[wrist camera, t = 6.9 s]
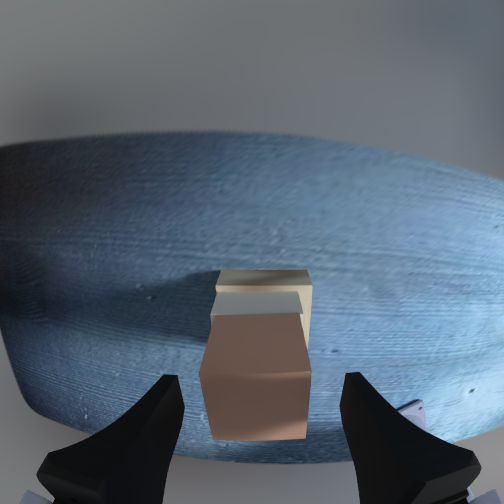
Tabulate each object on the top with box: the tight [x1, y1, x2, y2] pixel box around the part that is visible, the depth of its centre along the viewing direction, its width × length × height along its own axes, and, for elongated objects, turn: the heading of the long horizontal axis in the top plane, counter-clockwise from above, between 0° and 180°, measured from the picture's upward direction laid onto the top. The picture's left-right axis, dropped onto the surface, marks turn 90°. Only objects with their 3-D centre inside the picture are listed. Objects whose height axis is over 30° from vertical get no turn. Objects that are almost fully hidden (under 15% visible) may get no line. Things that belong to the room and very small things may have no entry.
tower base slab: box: [216, 270, 313, 349], centre depth 21 cm, size 6×6×3 cm
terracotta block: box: [199, 312, 312, 441], centre depth 15 cm, size 4×4×5 cm
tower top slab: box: [210, 291, 304, 327], centre depth 19 cm, size 5×5×3 cm
